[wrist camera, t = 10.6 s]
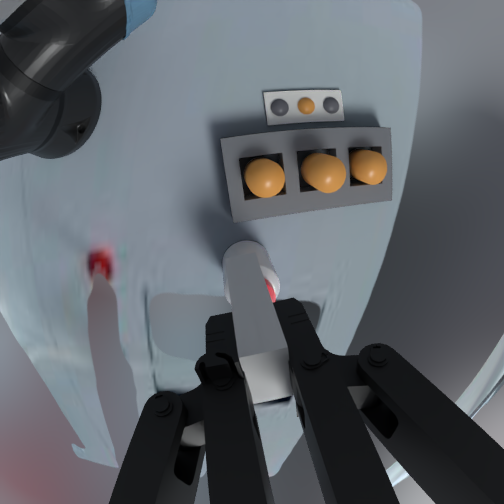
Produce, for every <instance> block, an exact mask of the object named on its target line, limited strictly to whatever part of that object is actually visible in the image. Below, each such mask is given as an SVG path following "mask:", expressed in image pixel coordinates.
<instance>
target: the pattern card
mask: <svg viewBox="0 0 504 504" xmlns="http://www.w3.org/2000/svg"><path fill="white" fill-rule="evenodd" d="M263 95H264V102H265V109H266V117H267V125H277V124H289V123H303V122H323V121H344V112H343V103H342V95H341V90H298V91H278V92H265V93H263Z"/></svg>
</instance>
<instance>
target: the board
mask: <svg viewBox="0 0 504 504" xmlns="http://www.w3.org/2000/svg"><path fill="white" fill-rule="evenodd" d="M220 142H221V148H222V155H223V161H224V168H225V174H226V181H227V187H228V193H229V200H230V206H231V212H232V218H233V223H238V222H244V221H250V220H256V219H262V218H268V217H275V216H281V215H288V214H294V213H301V212H308V211H315V210H322V209H329V208H336V207H343V206H351V205H358V204H366V203H374V202H382V201H391V200H392V144H391V128H386V127H331V128H311V129H296V130H284V131H274V132H264V133H256V134H248V135H240V136H233V137H227V138H220ZM348 147H372V151H375V152H378V153H380V154H381V155H382V156H383V157H384V158H385V160H386V163H387V173H386V176H385V178H384V179H383V180H382V181H381V182H380V183H378V184H376V185H370V184H367V183H365V182H362V181H354V182H350V171H349V153H348ZM316 149H328V152H329V155H331V156H334V157H337V158H338V159H340V160H341V161H342V163H343V164H344V166H345V169H346V178H345V182H344V184H343V185H342V187H341V188H340V189H338V190H337V191H335V192H332V193H324V192H321V191H319V190H318V189H316V188H314V187H313V186H309V187H301V188H300V185H299V173H298V163H297V153H296V151H304V150H316ZM275 153H278V159H279V166H280V167H281V168H282V170H283V172H284V175H285V182H284V186H283V188H282V190H281V191H280V192H279V193H278V194H276V195H274V196H272V197H269V198H262V197H259V196H256V195H255V194H251V195H245V196H244V193H243V186H242V179H241V172H240V165H239V158H244V157H251V156H259V155H266V154H275Z"/></svg>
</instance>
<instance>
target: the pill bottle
mask: <svg viewBox="0 0 504 504" xmlns="http://www.w3.org/2000/svg"><path fill="white" fill-rule="evenodd" d="M254 252H255V253H256V256H257V259H258V262H259V265H260V268H261V271H262V274H263V276H264V279H265V282H266V285H267V288H268V291H269V294H270V297H271V300H272V302H275V300H276V298H277V296H278V294H279V290H280V282H279V278H278V276H277V273H276V271H275V269H274V266H273V264H272V262H271V259H270V257H269V255H268V252H267V251H266V249H265V248H264V247H263V246H262V245H261V244H259V243H257V242H254V241H248V240H245V241H240V242H237V243H235V244H233V245H231V246H230V247H229V248H228V249H227V250H226V252H225V254H224V256H223V259H222V268H223V281H224V292H225V296H226V298H227V300H228V302H229V303H230V304H231V300H230V292H229V285H228V277H227V269H226V260H225V259H226V258H230V257H235V256H240V255H245V254H249V253H254Z"/></svg>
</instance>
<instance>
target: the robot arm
mask: <svg viewBox="0 0 504 504" xmlns="http://www.w3.org/2000/svg"><path fill="white" fill-rule="evenodd" d="M156 4H157V0H0V32H1V35H0V161H1V160H4V159H8V158H11V157H15V156H18V155H22V154H26V153H31V154H33V155H36V156H39V157H41V158H46V159H55V158H59V157H63V156H67V155H69V154H71V153H73V152H75V151H76V150H78V149H79V148H80V147H81V146H82V145H83V144H84V143H85V142H86V141H87V140H88V138H89V137H90V136H91V134H92V132H93V131H94V129H95V127H96V124H97V122H98V119H99V115H100V111H101V91H100V87H99V84H98V82H97V80H96V78H95V77H94V76H93V74H92V73H91V72H89V71H88V70H87V69H88V68H89V67H90V66H91V65H92V64H93V63H95V62H96V61H97V60H98V59H99V58H100V57H101V56H102V55H104V54H105V53H106V52H107V51H108V50H109V49H111V48H112V47H113V46H114V45H116V44H117V43H118V42H119V41H121V40H124V39H126V38H127V37H128V36H129V34H130V33H131V32H132V31H133V30H135V29H136V28H137V27H139V26H140V25H141V24H142V23H144V22H145V21H147V20H148V19H149V18H150V17H151V16H152V15H153V13H154V11H155V9H156ZM225 260H226V269H227V277H228V285H229V292H230V300H231V307H232V312H230V313H225V314H220V315H215V316H211V317H210V318H209V320H208V322H207V323H206V354H204V355H203V356H201V357H200V358H199V360H198V361H197V362H196V365H195V371H196V373H197V375H198V377H199V379H200V381H201V384H200V385H199V386H198V387H197V388H195V389H193V390H191V391H189V392H187V393H184V394H182V395H180V396H178V395H177V394H176V393H173V392H170V391H163V392H159V393H156V394H154V395H153V396H151V397H150V398H149V399H148V400H147V402H146V404H145V406H144V408H143V411H142V413H141V416H140V418H139V421H138V424H137V426H136V429H135V431H134V434H133V437H132V439H131V442H130V445H129V447H128V450H127V453H126V455H125V458H124V461H123V464H122V467H121V469H120V473H119V475H118V478H117V481H116V484H115V487H114V490H113V493H112V496H111V499H110V502H109V504H194V501H195V496H196V492H197V487H198V482H199V478H200V473H201V469H202V464H203V459H204V455H205V450H206V464H207V476H208V487H209V496H210V504H275V503H274V498H273V494H272V489H271V485H270V480H269V475H268V471H267V466H266V461H265V456H264V451H263V447H262V442H261V437H260V432H259V427H258V421H257V416H256V414H255V411H254V406H253V404H255V403H260V402H265V401H270V400H274V399H279V398H283V397H287V396H291V395H293V393H294V397H295V400H296V410H297V417H299V418H300V421H301V425H302V428H303V431H304V435H305V438H306V441H307V444H308V448H309V451H310V454H311V457H312V461H313V464H314V467H315V470H316V473H317V477H318V480H319V484H320V486H321V490H322V493H323V497H324V500H325V503H326V504H400V503H399V501H398V499H397V497H396V494H395V491H394V489H393V487H392V484H391V482H390V480H389V477H388V475H387V473H386V471H385V468H384V466H383V464H382V461H381V459H380V457H379V455H378V453H377V450H376V448H375V446H374V444H373V441H372V439H371V437H370V435H369V432H368V431H367V428H366V426H365V424H366V425H367V426H368V428H369V429H370V430H371V431H372V432H373V434H374V435H375V436H376V437H377V438H378V439H379V441H381V443H382V444H383V445H384V446H385V447H386V449H387V450H388V451H389V452H390V453H391V454H392V455H393V457H394V458H395V459H396V460H397V461H398V462H399V463H400V465H401V466H402V467H403V468H404V469H405V470H406V471H407V473H408V474H409V475H410V476H411V477H412V478H413V479H414V480H415V481H416V483H417V484H418V485H419V486H420V487H421V488H422V489H423V490H424V491H425V493H426V494H427V495H428V496H429V497H430V498H431V499H432V500H433V501H434V502H435V504H504V449H503V448H502V447H501V446H500V445H499V444H498V443H497V442H495V440H493V439H492V438H491V437H490V436H489V435H488V434H487V433H486V432H485V431H484V430H483V429H482V428H481V427H480V426H478V425H477V424H476V423H475V422H474V421H473V420H472V419H471V418H470V417H469V416H468V415H467V414H466V413H464V412H463V411H462V410H461V409H460V408H459V407H458V406H457V405H456V404H455V403H453V402H452V401H451V400H450V399H449V398H448V397H447V396H446V395H445V394H443V393H442V392H441V391H440V390H439V389H438V388H437V387H436V386H435V385H434V384H432V383H431V382H430V381H429V380H428V379H427V378H426V377H424V376H423V375H422V374H421V373H420V372H419V371H418V370H417V369H416V368H414V367H413V366H412V365H411V364H410V363H409V362H408V361H407V360H405V359H404V358H403V357H402V356H401V355H400V354H398V353H397V352H396V351H395V350H394V349H393V348H391V347H389V346H388V345H384V344H381V343H378V344H371V345H368V346H366V347H365V348H363V349H362V350H361V351H360V353H359V355H351V356H340V355H335V354H332V353H330V352H329V351H328V350H326V349H325V348H324V347H323V346H322V344H321V342H320V340H319V338H318V336H317V334H316V332H315V330H314V327H313V325H312V323H311V321H310V320H309V317H308V315H307V314H306V311H305V309H304V307H303V305H302V303H300V302H299V301H298V300H296V299H295V298H290V299H285V300H281V301H277V302H272V300H271V297H270V294H269V291H268V288H267V285H266V282H265V279H264V276H263V274H262V271H261V268H260V265H259V262H258V259H257V256H256V253H255V252H254V253H249V254H245V255H240V256H235V257H230V258H226V259H225ZM364 423H365V424H364Z"/></svg>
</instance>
